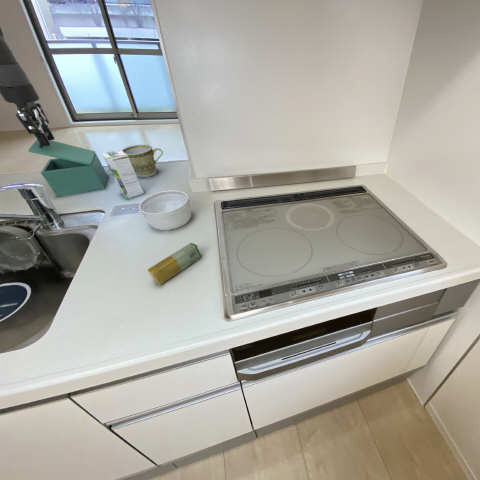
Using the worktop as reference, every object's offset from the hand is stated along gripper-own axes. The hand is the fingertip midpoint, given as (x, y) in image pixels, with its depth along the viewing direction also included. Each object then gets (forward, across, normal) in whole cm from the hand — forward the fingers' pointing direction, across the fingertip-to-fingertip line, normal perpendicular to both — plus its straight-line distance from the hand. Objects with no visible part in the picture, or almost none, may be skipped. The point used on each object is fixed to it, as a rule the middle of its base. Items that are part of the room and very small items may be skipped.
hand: (48, 142), depth 84 cm
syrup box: (+16, +14, +19) cm, 28 cm away
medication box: (+15, +60, +30) cm, 68 cm away
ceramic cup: (+16, -2, +25) cm, 29 cm away
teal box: (+16, 0, +3) cm, 16 cm away
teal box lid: (+4, 0, +3) cm, 4 cm away
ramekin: (+15, +36, +30) cm, 50 cm away
